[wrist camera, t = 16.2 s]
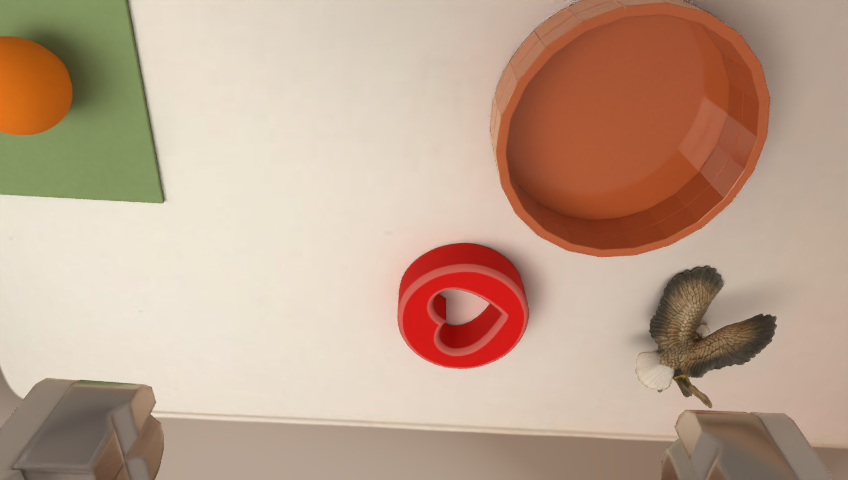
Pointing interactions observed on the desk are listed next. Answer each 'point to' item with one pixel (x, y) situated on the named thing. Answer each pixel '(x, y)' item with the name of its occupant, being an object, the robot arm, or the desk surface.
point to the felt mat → (84, 107)
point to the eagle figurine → (697, 336)
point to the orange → (31, 87)
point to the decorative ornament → (472, 274)
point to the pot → (627, 124)
